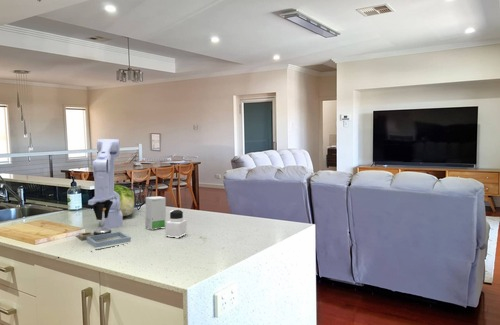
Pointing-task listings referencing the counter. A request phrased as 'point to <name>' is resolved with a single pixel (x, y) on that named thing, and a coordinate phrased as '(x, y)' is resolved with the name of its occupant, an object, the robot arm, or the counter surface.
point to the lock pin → (102, 218)
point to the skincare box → (155, 212)
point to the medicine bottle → (175, 223)
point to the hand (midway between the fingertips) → (102, 218)
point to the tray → (123, 239)
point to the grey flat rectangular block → (92, 234)
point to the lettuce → (125, 199)
